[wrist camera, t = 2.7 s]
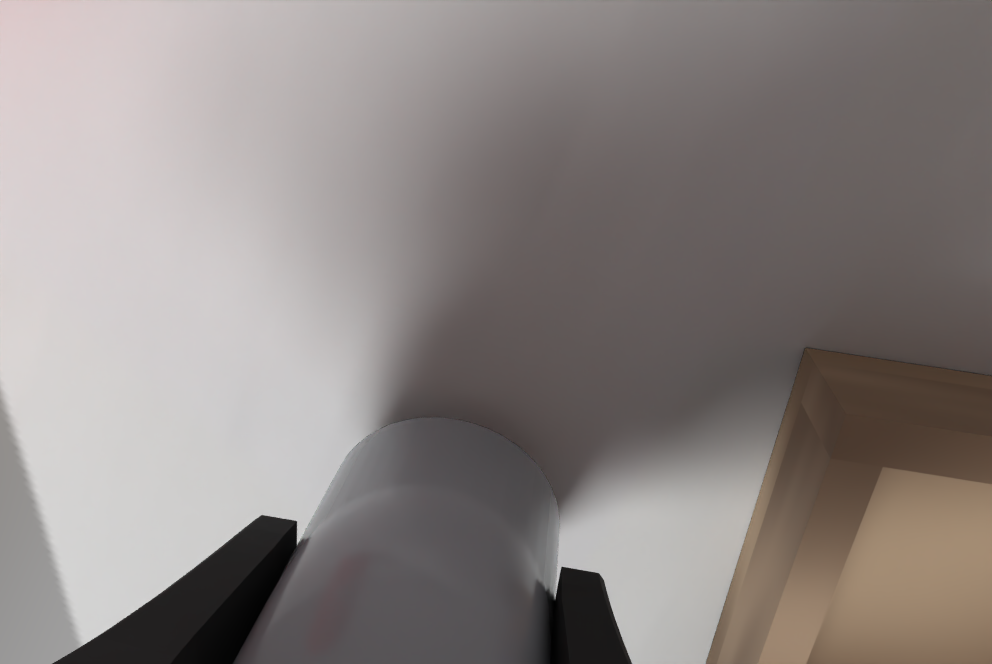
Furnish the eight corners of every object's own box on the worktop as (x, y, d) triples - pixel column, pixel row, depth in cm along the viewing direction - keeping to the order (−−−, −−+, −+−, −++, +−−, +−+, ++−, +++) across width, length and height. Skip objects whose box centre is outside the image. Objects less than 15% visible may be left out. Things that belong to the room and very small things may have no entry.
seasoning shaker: (541, 625, 15) (506, 1073, 9) (328, 587, 15) (143, 996, 9) (577, 438, 13) (563, 831, 7) (334, 399, 14) (110, 744, 7)
